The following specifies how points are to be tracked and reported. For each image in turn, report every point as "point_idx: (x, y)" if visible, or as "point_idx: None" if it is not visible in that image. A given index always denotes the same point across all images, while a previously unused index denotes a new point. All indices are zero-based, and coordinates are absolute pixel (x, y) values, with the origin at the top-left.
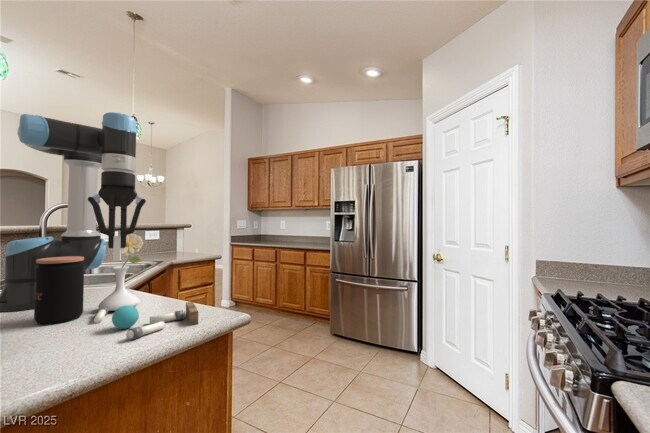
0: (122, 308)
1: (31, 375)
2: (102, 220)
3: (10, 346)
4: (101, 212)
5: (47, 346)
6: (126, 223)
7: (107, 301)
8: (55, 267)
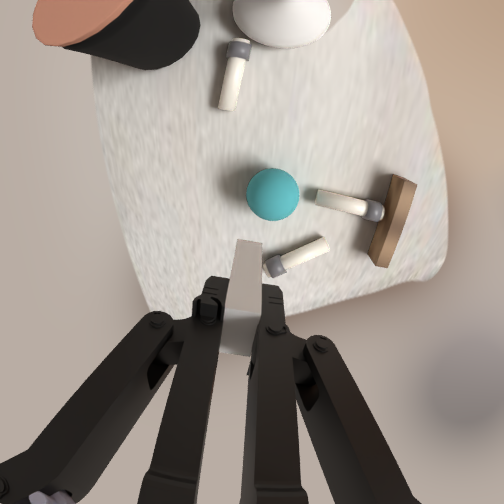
0: (265, 210)
1: (164, 302)
2: (140, 414)
3: (111, 172)
4: (94, 433)
5: (157, 208)
6: (290, 396)
7: (250, 20)
8: (78, 44)
